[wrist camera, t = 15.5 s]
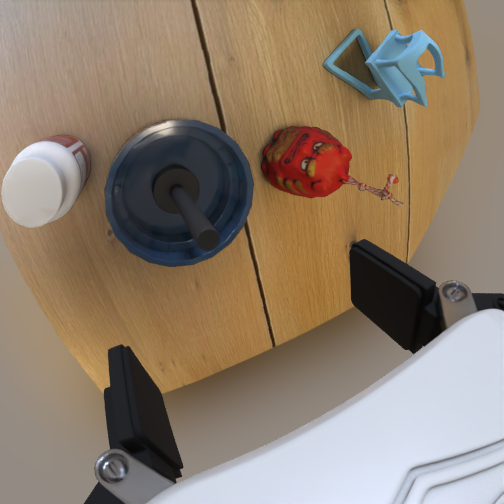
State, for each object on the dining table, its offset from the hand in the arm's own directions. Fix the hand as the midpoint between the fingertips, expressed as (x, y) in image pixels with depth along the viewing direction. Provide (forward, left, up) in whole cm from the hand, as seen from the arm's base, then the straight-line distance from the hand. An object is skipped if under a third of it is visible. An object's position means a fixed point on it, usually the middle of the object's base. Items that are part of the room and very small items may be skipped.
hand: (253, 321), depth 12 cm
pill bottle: (-9, +6, -22) cm, 25 cm away
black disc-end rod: (0, 0, -22) cm, 22 cm away
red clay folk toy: (+13, -1, -22) cm, 26 cm away
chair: (+25, +8, -22) cm, 35 cm away
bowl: (0, 0, -22) cm, 22 cm away
